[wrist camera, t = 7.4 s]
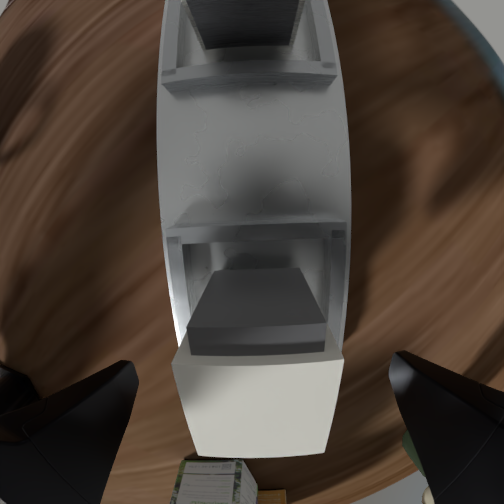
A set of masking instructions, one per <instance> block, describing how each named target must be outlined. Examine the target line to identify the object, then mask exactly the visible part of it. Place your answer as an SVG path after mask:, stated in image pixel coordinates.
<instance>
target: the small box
mask: <svg viewBox="0 0 504 504" xmlns="http://www.w3.org/2000/svg"><path fill="white" fill-rule="evenodd" d="M258 504H286V491H285V490H270V491H258Z"/></svg>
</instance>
